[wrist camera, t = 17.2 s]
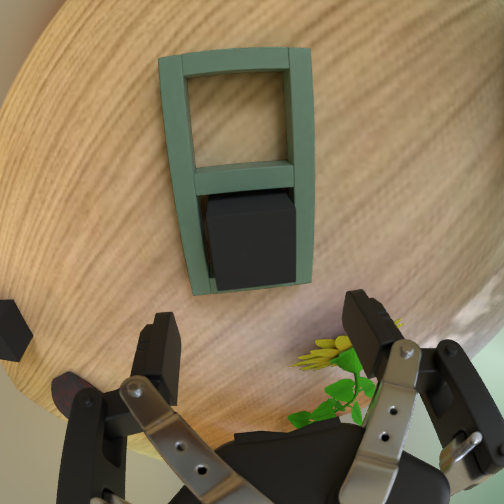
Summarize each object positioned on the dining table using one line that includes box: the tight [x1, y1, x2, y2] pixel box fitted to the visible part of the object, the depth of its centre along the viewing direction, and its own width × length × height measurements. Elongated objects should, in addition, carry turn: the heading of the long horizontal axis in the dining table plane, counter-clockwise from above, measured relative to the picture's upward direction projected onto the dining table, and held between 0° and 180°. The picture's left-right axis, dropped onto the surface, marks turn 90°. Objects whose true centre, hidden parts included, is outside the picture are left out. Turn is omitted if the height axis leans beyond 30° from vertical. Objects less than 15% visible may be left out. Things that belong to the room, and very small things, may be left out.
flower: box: [288, 319, 404, 432], centre depth 31 cm, size 12×9×30 cm
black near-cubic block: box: [206, 188, 296, 291], centre depth 20 cm, size 5×5×4 cm
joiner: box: [158, 47, 315, 296], centre depth 19 cm, size 10×18×2 cm, turn 3°
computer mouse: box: [51, 372, 102, 419], centre depth 31 cm, size 8×14×4 cm, turn 31°
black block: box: [0, 300, 33, 362], centre depth 23 cm, size 5×5×4 cm
